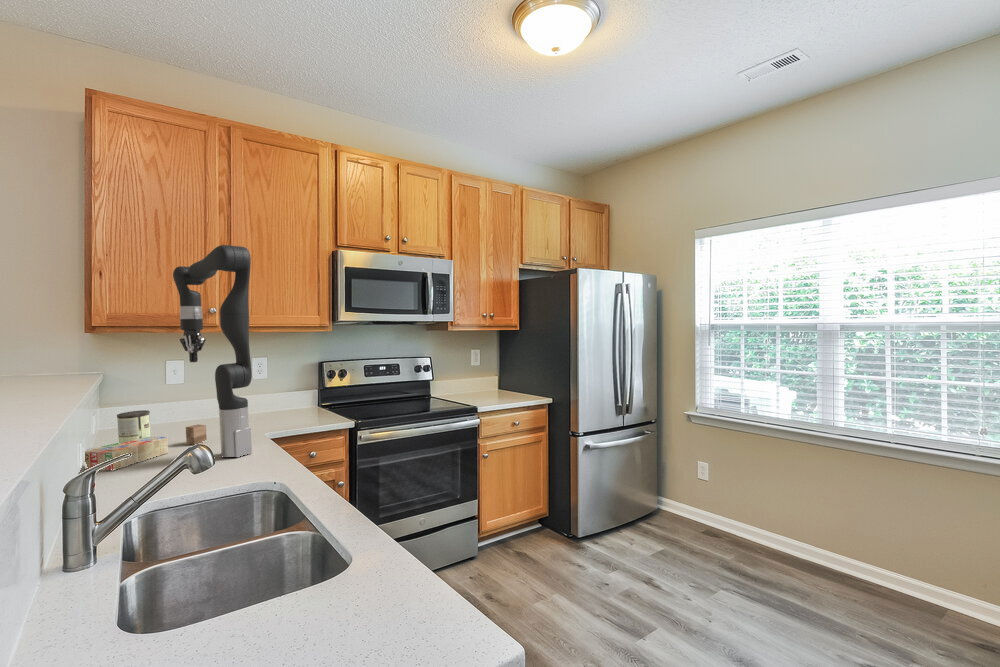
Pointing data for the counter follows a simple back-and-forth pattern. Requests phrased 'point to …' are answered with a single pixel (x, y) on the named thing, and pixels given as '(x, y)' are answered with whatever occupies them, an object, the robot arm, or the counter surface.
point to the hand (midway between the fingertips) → (193, 362)
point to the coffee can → (133, 425)
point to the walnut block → (195, 434)
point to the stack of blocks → (138, 448)
